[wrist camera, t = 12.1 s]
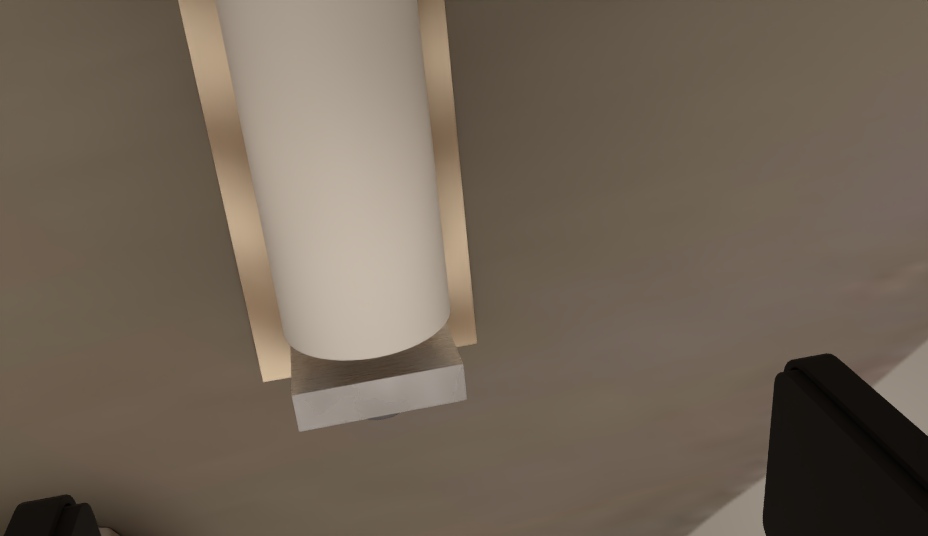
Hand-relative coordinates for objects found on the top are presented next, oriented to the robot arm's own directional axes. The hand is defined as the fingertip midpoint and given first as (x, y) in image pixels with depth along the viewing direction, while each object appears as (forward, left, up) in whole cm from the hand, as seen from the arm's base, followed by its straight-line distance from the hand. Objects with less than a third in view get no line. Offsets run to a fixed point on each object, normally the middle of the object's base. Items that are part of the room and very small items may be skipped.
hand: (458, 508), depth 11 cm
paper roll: (0, 0, -21) cm, 21 cm away
